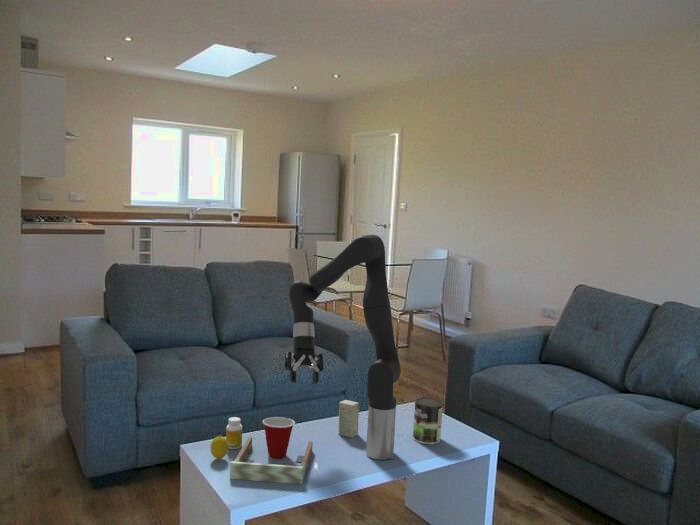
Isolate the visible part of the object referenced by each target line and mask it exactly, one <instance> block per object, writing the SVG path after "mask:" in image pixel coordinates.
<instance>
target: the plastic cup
mask: <svg viewBox="0 0 700 525" xmlns="http://www.w3.org/2000/svg"><path fill="white" fill-rule="evenodd" d="M262 424H263V428H264V432H265V440H266V449H267V454H268V457H269V458H270V457H271V458H270V459H274V460H280V459H284V458H286V456H287V452H288V448H289V444H290V439H291V435H292V431H293V428H294V425H295V424H296V421H295V420H294V419H292V418H288V417H283V416H282V417H281V416H274V417H273V416H271V417H267V418H264V419H263V420H262Z"/></svg>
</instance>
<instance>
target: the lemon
mask: <svg viewBox="0 0 700 525" xmlns="http://www.w3.org/2000/svg"><path fill="white" fill-rule="evenodd" d="M228 450H229V449H228V443H227V440H226V437H224V436H222V435H218V436H216V437H214V438H213V439H212V441H211V443H210V453H211V455H212V457H213V458H215V459H217V460H219V461H220V460H221V459H222V458H224V457H225V456H226V455H227V453H228Z"/></svg>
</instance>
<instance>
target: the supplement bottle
mask: <svg viewBox="0 0 700 525" xmlns="http://www.w3.org/2000/svg"><path fill="white" fill-rule="evenodd" d="M225 432H226V433H225V434H226V435H225V439H226V440H227V443H228V450H229V449H230V450H238V449H240V448H242V447H243V445H242V444H243V425H242V424H241V418H240V417H237V416H233V417H229V418H228V424H227V425H226V429H225Z"/></svg>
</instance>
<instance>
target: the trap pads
mask: <svg viewBox="0 0 700 525" xmlns="http://www.w3.org/2000/svg"><path fill="white" fill-rule="evenodd" d="M303 458H304V455H297V457H296V460H295V463H296V462H297V464H298V463H300V464H302V461H303ZM254 461H255V460H254V459H247V458H246V459H245V460H244V461H243V462H249V463H254Z"/></svg>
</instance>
